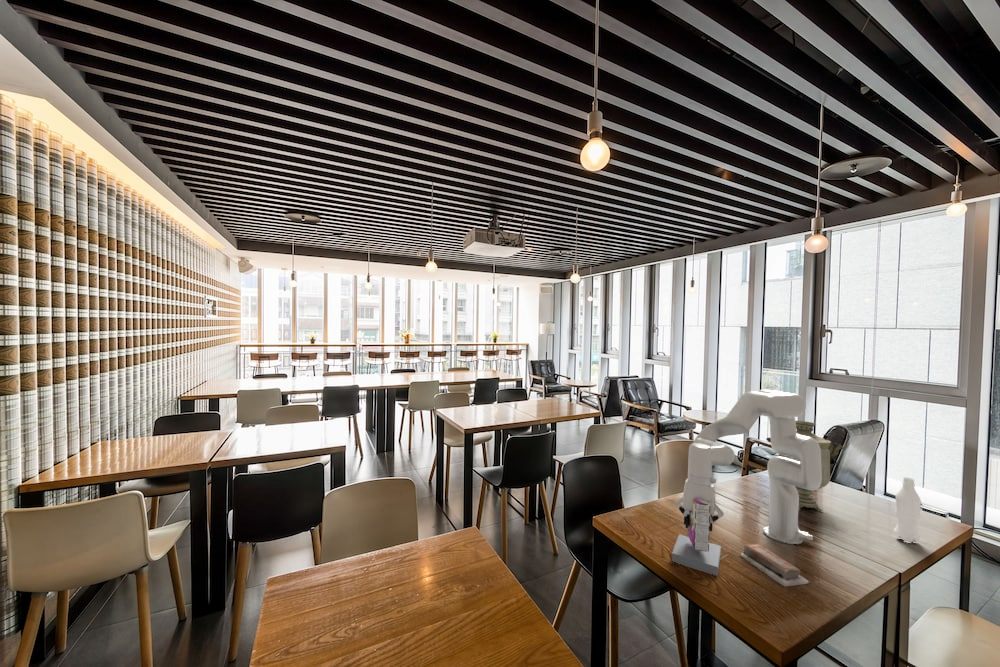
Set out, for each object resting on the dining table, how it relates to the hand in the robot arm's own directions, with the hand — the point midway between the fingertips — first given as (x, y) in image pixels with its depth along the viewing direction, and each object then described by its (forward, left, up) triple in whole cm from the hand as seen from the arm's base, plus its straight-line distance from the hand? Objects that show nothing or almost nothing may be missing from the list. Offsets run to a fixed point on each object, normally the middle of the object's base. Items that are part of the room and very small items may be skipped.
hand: (697, 529), depth 139 cm
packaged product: (-22, -8, -11) cm, 26 cm away
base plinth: (0, 0, -10) cm, 10 cm away
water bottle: (-69, -65, -10) cm, 95 cm away
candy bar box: (0, 0, -5) cm, 5 cm away
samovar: (-37, -78, -10) cm, 87 cm away
